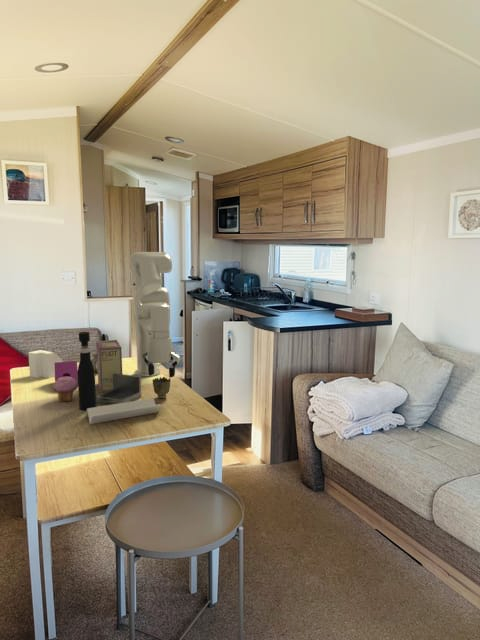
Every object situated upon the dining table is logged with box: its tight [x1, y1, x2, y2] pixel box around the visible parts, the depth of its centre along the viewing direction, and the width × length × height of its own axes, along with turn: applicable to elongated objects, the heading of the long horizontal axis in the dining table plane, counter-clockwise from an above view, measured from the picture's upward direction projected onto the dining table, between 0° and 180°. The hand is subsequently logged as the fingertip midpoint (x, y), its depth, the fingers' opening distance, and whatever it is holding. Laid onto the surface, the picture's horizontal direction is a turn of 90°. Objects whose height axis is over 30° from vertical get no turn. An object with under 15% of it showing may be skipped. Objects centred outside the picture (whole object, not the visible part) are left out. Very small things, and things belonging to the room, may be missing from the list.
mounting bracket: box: [54, 360, 78, 391], centre depth 218 cm, size 10×9×19 cm
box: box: [95, 339, 123, 395], centre depth 214 cm, size 17×9×20 cm, turn 21°
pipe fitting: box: [91, 351, 98, 373], centre depth 244 cm, size 12×8×10 cm
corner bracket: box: [28, 349, 64, 379], centre depth 235 cm, size 11×11×12 cm
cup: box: [151, 376, 171, 400], centre depth 200 cm, size 8×7×8 cm
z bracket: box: [84, 397, 162, 425], centre depth 179 cm, size 12×25×6 cm
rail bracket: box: [96, 373, 142, 405], centre depth 197 cm, size 13×13×9 cm
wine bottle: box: [77, 331, 98, 412], centre depth 186 cm, size 6×6×30 cm
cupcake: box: [53, 376, 78, 402], centre depth 197 cm, size 9×9×10 cm
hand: (161, 375), depth 199 cm, fingers open, 9 cm apart
